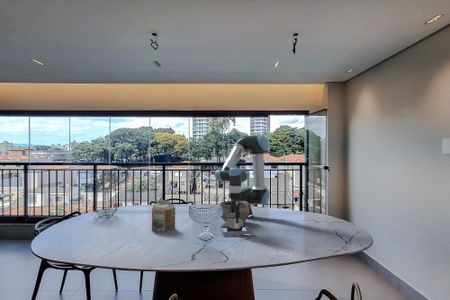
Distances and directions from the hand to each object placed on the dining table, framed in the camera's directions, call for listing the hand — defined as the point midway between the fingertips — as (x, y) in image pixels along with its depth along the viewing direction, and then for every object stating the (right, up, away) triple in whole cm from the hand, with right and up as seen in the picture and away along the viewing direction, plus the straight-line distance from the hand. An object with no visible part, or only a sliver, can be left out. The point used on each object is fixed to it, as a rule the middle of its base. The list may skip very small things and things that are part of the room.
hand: (234, 225), depth 185 cm
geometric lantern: (-100, -4, +45) cm, 109 cm away
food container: (0, -4, 0) cm, 4 cm away
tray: (0, -4, 0) cm, 4 cm away
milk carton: (-46, -4, +4) cm, 47 cm away
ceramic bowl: (0, -5, +24) cm, 25 cm away
